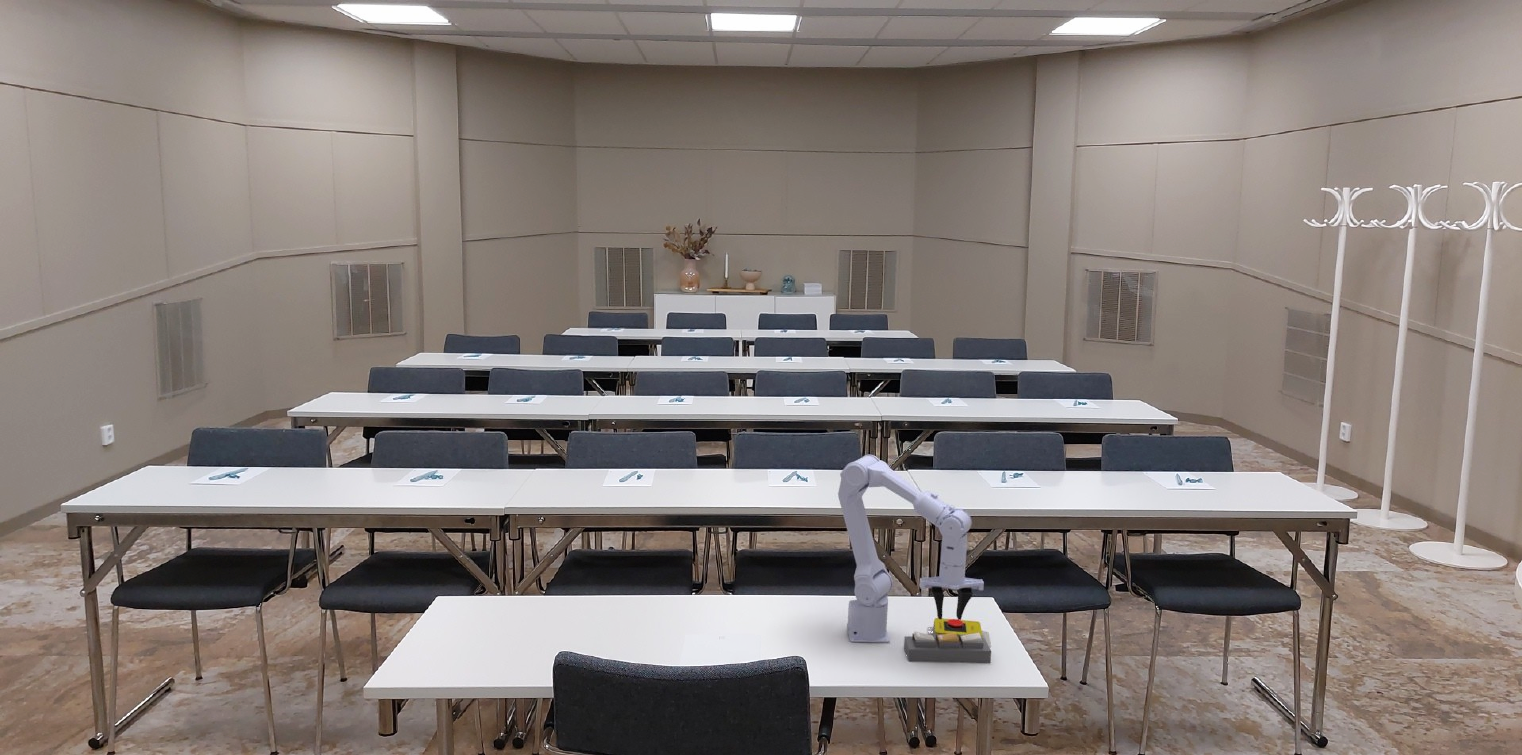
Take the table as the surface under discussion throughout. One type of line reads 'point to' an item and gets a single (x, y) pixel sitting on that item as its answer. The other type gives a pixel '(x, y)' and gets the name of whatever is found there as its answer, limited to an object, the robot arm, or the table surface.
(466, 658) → the table surface
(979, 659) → the switch strip
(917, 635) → the rocker left
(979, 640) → the rocker right
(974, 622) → the emergency button
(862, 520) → the robot arm
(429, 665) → the table surface
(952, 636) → the rocker amber
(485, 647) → the table surface
